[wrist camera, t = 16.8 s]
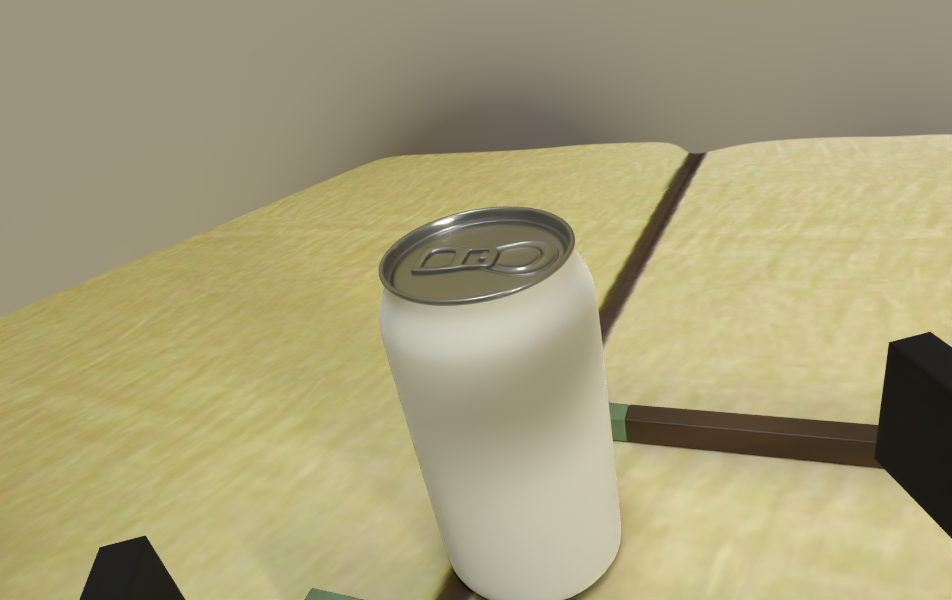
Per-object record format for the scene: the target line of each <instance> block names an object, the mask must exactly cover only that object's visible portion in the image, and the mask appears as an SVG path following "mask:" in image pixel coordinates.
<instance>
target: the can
mask: <svg viewBox="0 0 952 600" xmlns="http://www.w3.org/2000/svg"><path fill="white" fill-rule="evenodd" d="M574 245H575V236H574V233H573V230H572V228H571V227H570V226H569V224H568V223H567V222H566V221H564V220H563V219H562V218H560V217H558V216H556V215H554V214H552V213H549V212H546V211H542V210H538V209H533V208H526V207H491V208H483V209H476V210H470V211H465V212H461V213H457V214H453V215H450V216H446V217H443V218H440V219H438V220H435V221H432V222H430V223H427V224H425V225H423V226H421V227H419V228H417V229H415V230H413V231H411V232H410V233H408V234H407V235H405V236H403V237H402V238H401V239H399V240H398V241H397V242H396V243H394V244H393V245H392V246H391V247H390V248H389V249H388V251H387V252H386V253H385V255H384V256H383V258H382V260H381V262H380V265H379V277H380V280H381V282H382V284H383V285H384V291H383V295H382V299H381V304H380V309H379V325H380V331H381V335H382V339H383V342H384V346H385V350H386V353H387V357H388V360H389V364H390V367H391V371H392V374H393V378H394V381H395V384H396V388H397V391H398V394H399V398H400V401H401V405H402V408H403V411H404V415H405V418H406V421H407V425H408V428H409V431H410V435H411V438H412V441H413V445H414V448H415V451H416V455H417V458H418V461H419V465H420V468H421V471H422V474H423V478H424V481H425V484H426V488H427V491H428V494H429V498H430V501H431V504H432V507H433V511H434V514H435V517H436V520H437V524H438V527H439V530H440V533H441V536H442V540H443V543H444V546H445V549H446V552H447V555H448V558H449V560H450V563H451V565H452V567H453V569H454V571H455V572H456V574H457V575H458V577H459V578H460V579H461V580H462V581H463V582H464V583H465V584H466V585H467V586H468V587H469V588H470V589H472V590H473V591H474V592H476V593H477V594H479V595H481V596H483V597H485V598H487V599H489V600H565V599H568V598H570V597H572V596H575V595H577V594H578V593H580V592H582V591H584V590H585V589H587V588H588V587H590V586H591V585H592V584H593V583H595V582H596V581H597V580H598V579H599V578H600V577H601V576H602V575H603V574H604V573H605V572H606V570H607V569H608V568H609V567H610V565H611V564H612V562H613V561H614V559H615V557H616V555H617V553H618V550H619V546H620V541H621V518H620V506H619V496H618V486H617V476H616V466H615V457H614V447H613V438H612V429H611V419H610V410H609V401H608V392H607V383H606V374H605V365H604V356H603V347H602V338H601V329H600V321H599V312H598V304H597V297H596V291H595V285H594V281H593V277H592V275H591V273H590V271H589V269H588V267H587V265H586V264H585V262H584V261H583V260H582V258H581V257H580V255H579V254H578V253H577V251H576V250H575V249H574Z"/></svg>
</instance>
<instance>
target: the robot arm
mask: <svg viewBox="0 0 952 600" xmlns="http://www.w3.org/2000/svg"><path fill="white" fill-rule="evenodd" d="M874 459H875V460H876V461H877V462H878V463H879V464H880V465H881V466H882V467H883V468H884V469H885V470H886V471H887V472H888V473H889V474H890V475H891V476H892V477H893V478H894V479H895V480H896V481H897V482H898V483H899V484H900V485H901V486H902V487H903V489H904V490H905V491H906V492H907V493H908V494H909V495H910V496H911V497H912V498H913V499H914V500H915V501H916V502H917V503H918V504H919V505H920V506H921V507H922V508H923V509H924V510H925V511H926V512H927V513H928V514H929V515H930V516H931V517H932V519H933V520H934V521H935V522H936V523H937V524H938V525H939V526H940V527H941V528H942V529H943V530H944V531H945V532H946V533H947V534H948V535H949V536H950V537H951V538H952V347H951V346H949V345H948V344H946V343H945V342H944V341H942V340H941V339H939V338H938V337H937V336H935V335H934V334H933V333H931V332H928V333H924V334H920V335H916V336H912V337H908V338H905V339H901V340H897V341H893V342H889V347H888V355H887V363H886V370H885V378H884V386H883V393H882V401H881V409H880V417H879V424H878V432H877V440H876V447H875V455H874ZM80 600H185V598H184V597H183V595H182V594H181V592H180V590H179V589H178V587H177V585H176V584H175V582H174V581H173V579H172V577H171V576H170V574H169V573H168V571H167V569H166V568H165V566H164V565H163V563H162V561H161V560H160V558H159V556H158V555H157V553H156V552H155V550H154V548H153V547H152V545H151V544H150V542H149V540H148V539H147V537H146V536H142V537H138V538H134V539H130V540H127V541H123V542H119V543H115V544H111V545H107V546H103V547H100V548H99V551H98V553H97V556H96V558H95V561H94V564H93V566H92V569H91V571H90V574H89V577H88V579H87V582H86V584H85V587H84V590H83V592H82V595H81V597H80Z"/></svg>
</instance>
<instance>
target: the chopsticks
mask: <svg viewBox="0 0 952 600" xmlns="http://www.w3.org/2000/svg"><path fill="white" fill-rule="evenodd" d="M609 410H610V419H611V429H612V438H613V440H620V441H627V440H628V441H630V442H639V443H649V444H659V445H669V446H678V447H688V448H698V449H707V450H717V451H727V452H736V453H746V454H756V455H766V456H775V457H785V458H795V459H804V460H814V461H824V462H833V463H843V464H853V465H863V466H872V467H882V466H881V465H880V464H879V463H878V462H877V461H876V460H875V459H874V455H875V447H876V440H877V432H878V425H870V424H858V423H846V422H834V421H822V420H810V419H798V418H785V417H773V416H761V415H749V414H737V413H725V412H713V411H701V410H688V409H676V408H664V407H652V406H640V405H627V404H616V403H609ZM882 468H883V467H882ZM305 600H363V599H359V598H354V597H350V596H345V595H341V594H336V593H332V592H327V591H323V590H319V589H314V588H312V589H311V590H310V592H309V593H308V595H307V596H306V598H305Z"/></svg>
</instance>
